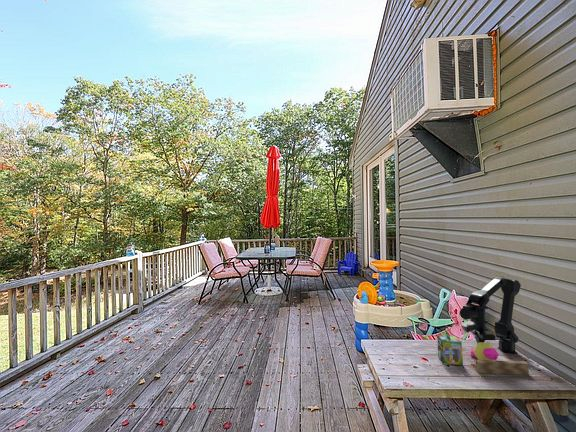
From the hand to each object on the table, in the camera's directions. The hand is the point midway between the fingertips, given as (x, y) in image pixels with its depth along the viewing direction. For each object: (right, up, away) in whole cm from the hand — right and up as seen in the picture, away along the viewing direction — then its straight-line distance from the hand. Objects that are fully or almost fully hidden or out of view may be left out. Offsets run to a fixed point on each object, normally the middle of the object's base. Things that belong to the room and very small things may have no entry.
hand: (479, 347), depth 153 cm
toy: (-1, -5, -6) cm, 7 cm away
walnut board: (-1, -4, -18) cm, 18 cm away
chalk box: (-19, -5, -5) cm, 20 cm away
